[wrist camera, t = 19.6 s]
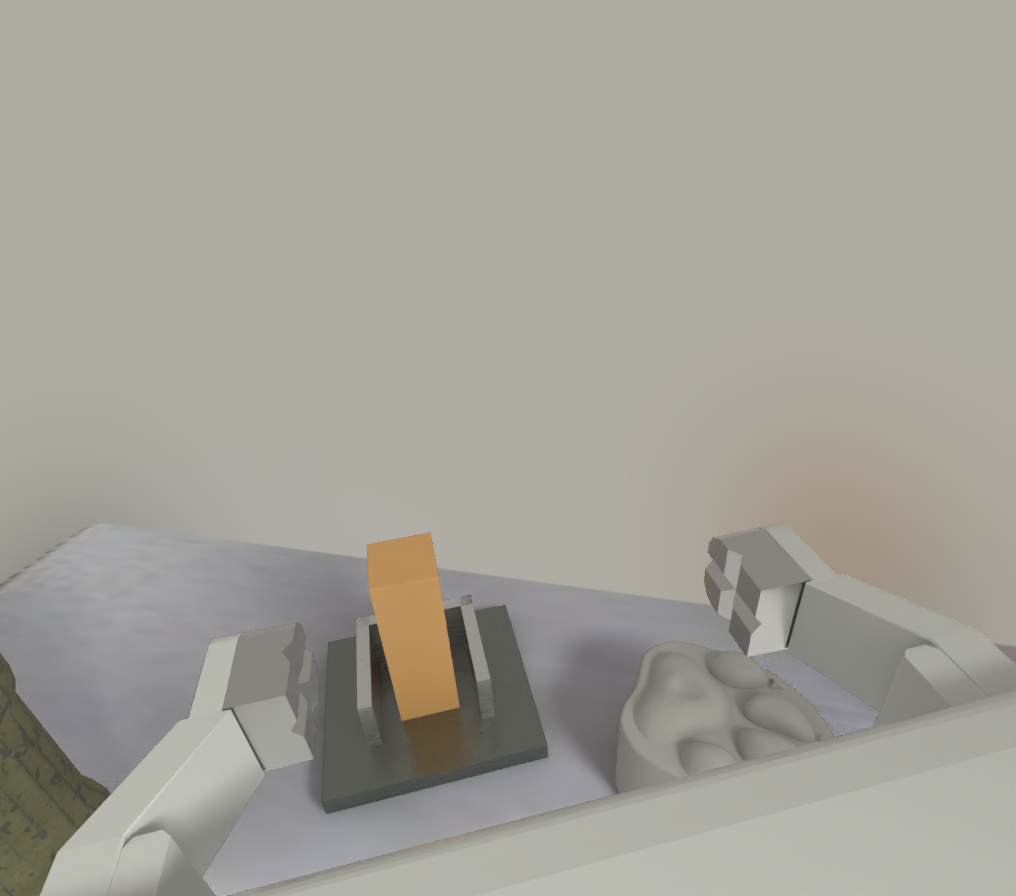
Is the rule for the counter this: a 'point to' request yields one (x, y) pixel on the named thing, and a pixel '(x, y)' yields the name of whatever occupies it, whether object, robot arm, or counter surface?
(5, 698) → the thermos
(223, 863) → the counter surface
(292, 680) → the robot arm
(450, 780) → the grey rail base plate
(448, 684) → the tall orange pillar
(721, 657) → the lumpy-topped squat cylinder
